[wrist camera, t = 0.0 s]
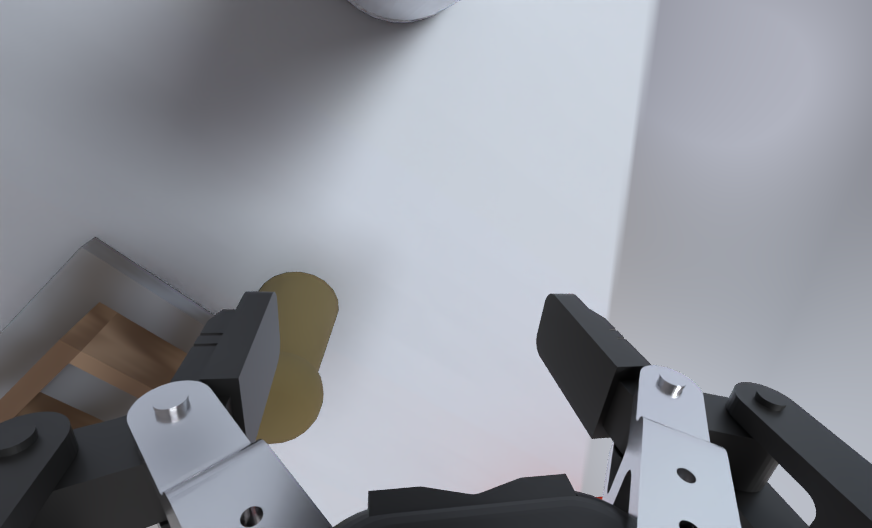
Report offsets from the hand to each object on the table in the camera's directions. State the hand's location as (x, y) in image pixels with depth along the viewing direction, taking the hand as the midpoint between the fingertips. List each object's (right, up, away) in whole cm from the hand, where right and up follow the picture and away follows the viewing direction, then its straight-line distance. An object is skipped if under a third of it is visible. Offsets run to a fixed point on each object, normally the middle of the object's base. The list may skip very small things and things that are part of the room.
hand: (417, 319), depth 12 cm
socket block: (-22, -7, +19) cm, 30 cm away
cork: (-10, -2, +19) cm, 21 cm away
